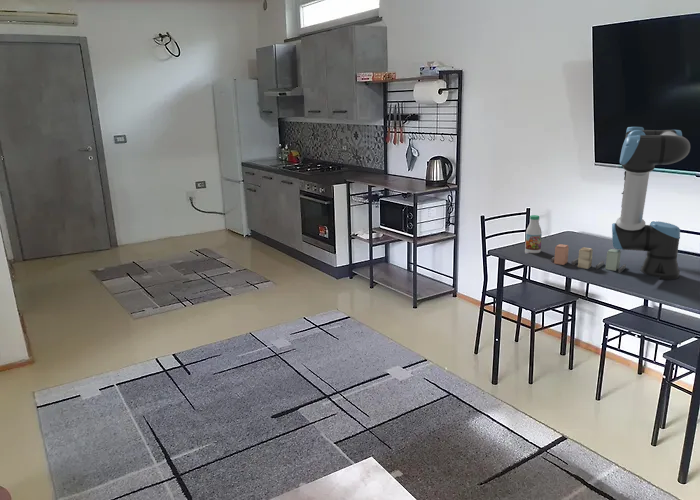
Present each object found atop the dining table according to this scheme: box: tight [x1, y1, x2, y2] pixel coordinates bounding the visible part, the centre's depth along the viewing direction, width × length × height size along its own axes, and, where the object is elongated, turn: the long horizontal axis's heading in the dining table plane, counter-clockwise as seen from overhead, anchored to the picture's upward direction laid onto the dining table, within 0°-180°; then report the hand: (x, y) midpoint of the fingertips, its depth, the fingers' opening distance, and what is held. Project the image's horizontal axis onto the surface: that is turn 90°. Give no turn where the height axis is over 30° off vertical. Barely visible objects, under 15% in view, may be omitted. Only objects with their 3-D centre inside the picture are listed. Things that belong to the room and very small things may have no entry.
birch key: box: [577, 247, 594, 270], centre depth 251 cm, size 5×4×9 cm
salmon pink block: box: [553, 243, 570, 266], centre depth 258 cm, size 5×4×9 cm
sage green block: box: [605, 248, 622, 272], centre depth 247 cm, size 5×4×9 cm
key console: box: [550, 255, 627, 274], centre depth 255 cm, size 10×31×3 cm, turn 49°
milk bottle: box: [524, 214, 542, 255], centre depth 278 cm, size 8×8×20 cm
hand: (624, 207), depth 268 cm, fingers closed
